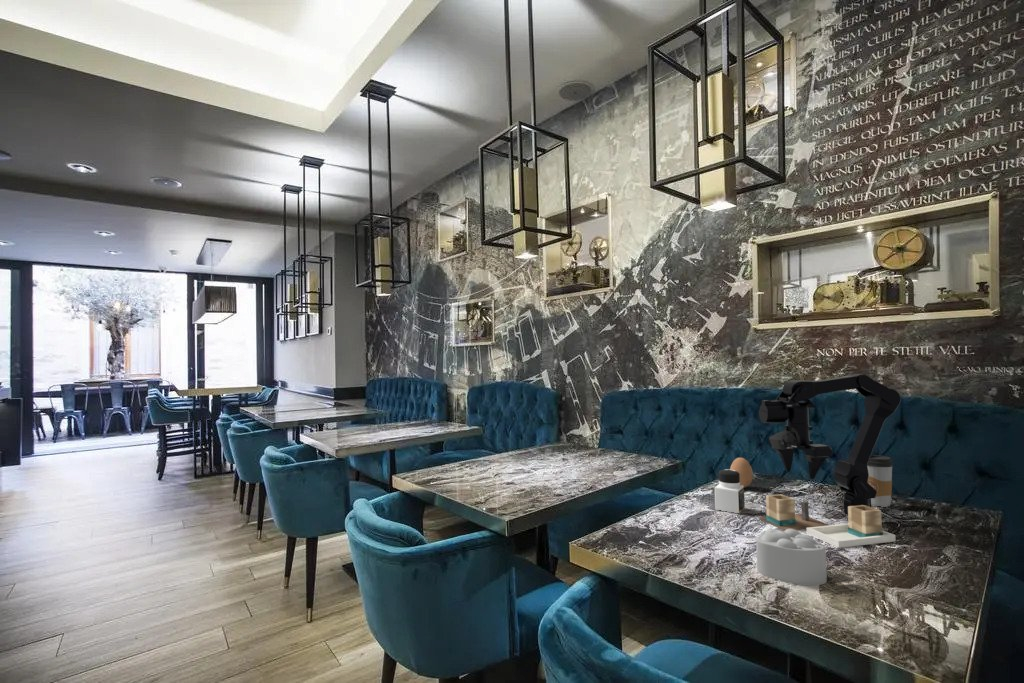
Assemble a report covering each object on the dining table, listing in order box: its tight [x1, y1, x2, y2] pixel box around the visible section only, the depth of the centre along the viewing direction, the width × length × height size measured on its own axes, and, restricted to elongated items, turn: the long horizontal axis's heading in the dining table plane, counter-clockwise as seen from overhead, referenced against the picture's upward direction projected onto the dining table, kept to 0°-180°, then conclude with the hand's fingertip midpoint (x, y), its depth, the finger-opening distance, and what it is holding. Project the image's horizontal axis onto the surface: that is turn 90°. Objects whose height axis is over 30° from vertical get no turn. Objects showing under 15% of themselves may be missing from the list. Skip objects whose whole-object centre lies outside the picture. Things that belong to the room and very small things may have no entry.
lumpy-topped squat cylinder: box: [755, 528, 828, 586], centre depth 109 cm, size 10×13×9 cm
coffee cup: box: [867, 454, 894, 508], centre depth 156 cm, size 8×8×15 cm
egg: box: [729, 457, 754, 489], centre depth 178 cm, size 8×8×11 cm
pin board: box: [758, 501, 829, 532], centre depth 139 cm, size 14×10×6 cm
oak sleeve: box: [765, 493, 796, 526], centre depth 138 cm, size 5×5×7 cm
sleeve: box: [847, 505, 883, 537], centre depth 128 cm, size 5×5×7 cm
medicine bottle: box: [714, 468, 746, 514], centre depth 154 cm, size 7×7×12 cm
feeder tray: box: [805, 522, 897, 549], centre depth 127 cm, size 17×10×2 cm, turn 102°
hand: (799, 475), depth 147 cm, fingers open, 9 cm apart
